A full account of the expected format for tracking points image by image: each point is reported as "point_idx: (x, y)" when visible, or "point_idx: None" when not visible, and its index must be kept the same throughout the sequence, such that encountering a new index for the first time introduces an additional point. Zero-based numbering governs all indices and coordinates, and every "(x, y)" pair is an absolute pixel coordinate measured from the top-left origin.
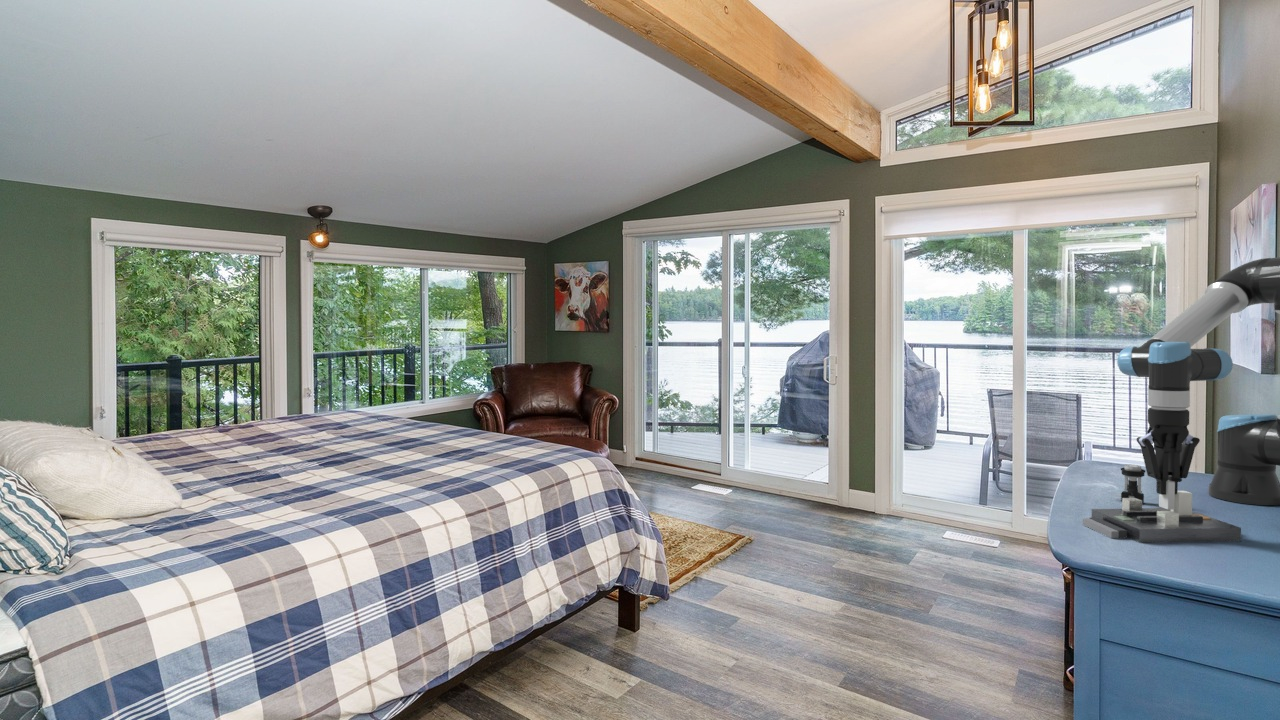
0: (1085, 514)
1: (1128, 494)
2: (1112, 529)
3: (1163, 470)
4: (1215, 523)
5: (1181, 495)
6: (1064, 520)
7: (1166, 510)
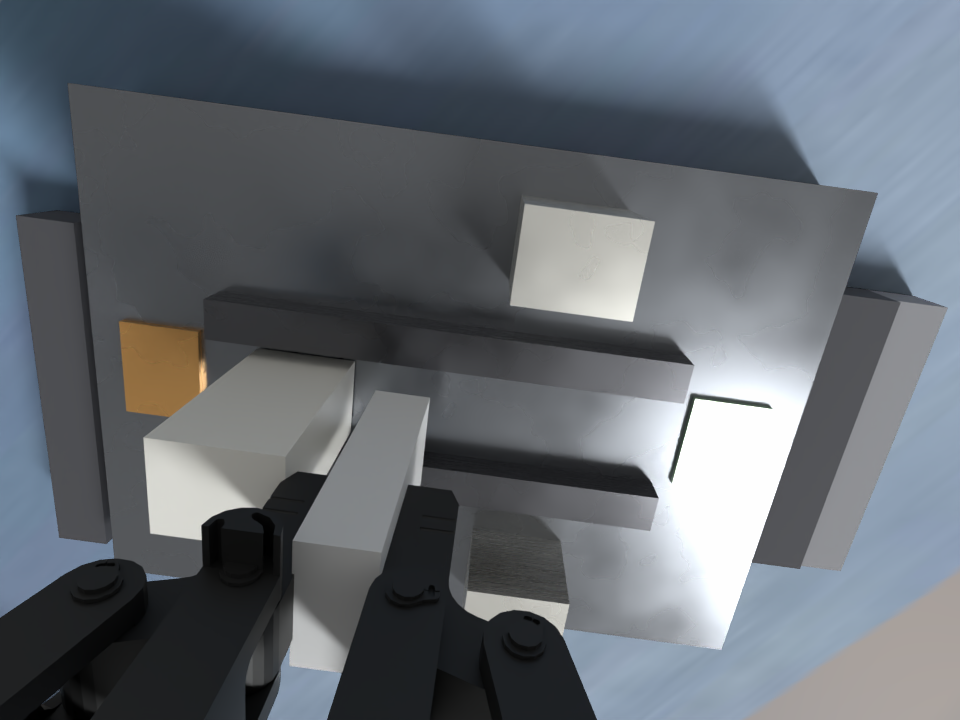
0: (615, 685)
1: None
2: (894, 344)
3: (420, 714)
4: (174, 221)
5: (269, 440)
6: (834, 626)
7: None
